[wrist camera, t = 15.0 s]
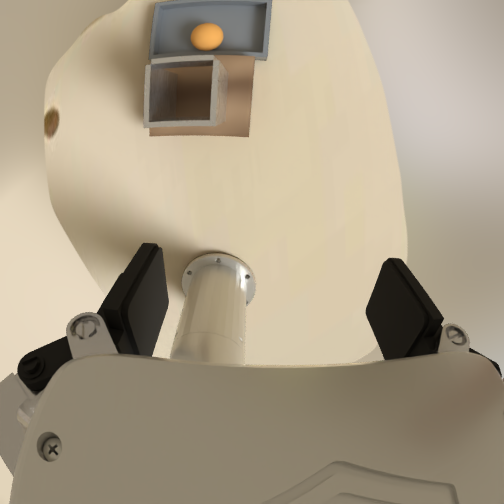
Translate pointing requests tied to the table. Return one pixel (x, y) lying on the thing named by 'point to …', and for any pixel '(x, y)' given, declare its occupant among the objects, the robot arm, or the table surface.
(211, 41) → the ball
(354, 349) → the table surface
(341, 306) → the table surface
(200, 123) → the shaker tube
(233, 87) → the stand
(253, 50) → the tray
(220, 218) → the table surface
